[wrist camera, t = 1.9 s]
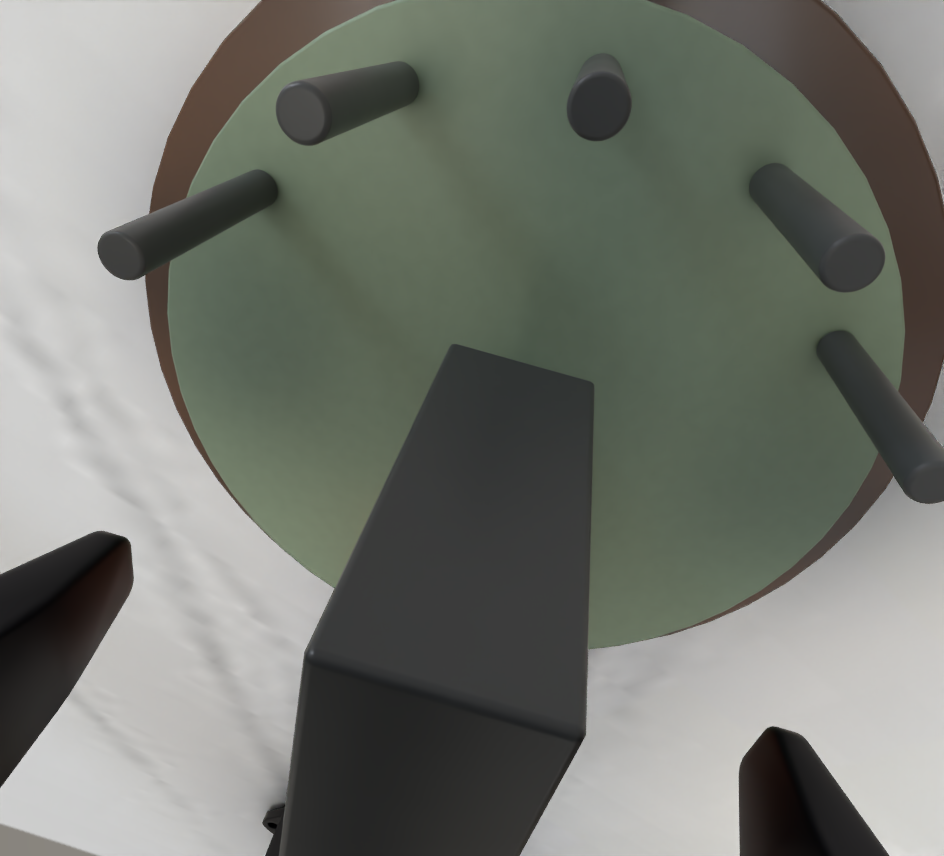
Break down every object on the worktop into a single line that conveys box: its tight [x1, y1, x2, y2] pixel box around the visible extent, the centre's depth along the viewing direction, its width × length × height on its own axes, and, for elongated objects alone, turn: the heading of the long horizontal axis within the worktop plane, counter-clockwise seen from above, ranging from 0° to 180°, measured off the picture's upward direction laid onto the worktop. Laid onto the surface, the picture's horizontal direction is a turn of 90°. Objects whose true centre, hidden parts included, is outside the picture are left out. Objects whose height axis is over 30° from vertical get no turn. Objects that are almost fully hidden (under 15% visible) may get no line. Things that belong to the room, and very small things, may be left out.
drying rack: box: [98, 0, 944, 856], centre depth 11 cm, size 16×16×11 cm
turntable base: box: [145, 0, 944, 643], centre depth 16 cm, size 18×18×1 cm
